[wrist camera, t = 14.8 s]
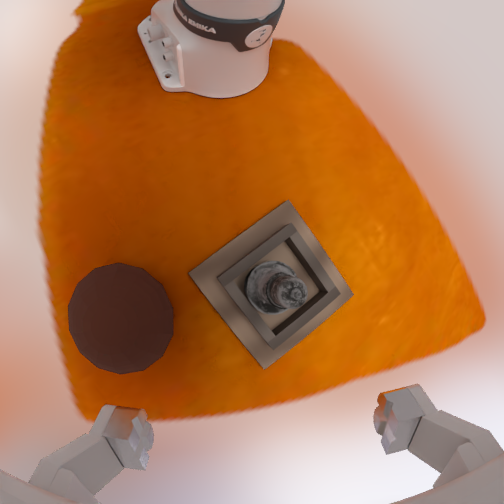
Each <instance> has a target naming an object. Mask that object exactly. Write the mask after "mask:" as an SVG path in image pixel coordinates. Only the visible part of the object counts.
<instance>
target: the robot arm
mask: <svg viewBox="0 0 504 504" xmlns="http://www.w3.org/2000/svg"><path fill="white" fill-rule="evenodd" d="M284 3H285V0H159V1H158V2H157V3H156V4H155V5H154V6H153V7H152V9H151V15H150V16H148V17H147V18H146V19H144V20H143V21H142V22H141V23H140V25H139V26H138V34H139V37H140V39H141V41H142V43H143V46H144V48H145V50H146V52H147V55H148V57H149V59H150V61H151V64H152V66H153V68H154V70H155V73H156V75H157V77H158V79H159V81H160V84H161V86H162V88H163V89H164V90H165V91H169V92H181V91H188V92H192V93H195V94H199V95H202V96H206V97H213V98H228V97H234V96H239V95H242V94H245V93H247V92H249V91H251V90H253V89H254V88H256V87H257V86H258V85H259V84H260V83H261V82H262V81H263V80H264V78H265V77H266V74H267V72H268V67H269V49H270V47H271V45H272V33H273V31H274V29H275V27H276V25H277V23H278V21H279V18H280V15H281V13H282V10H283V7H284ZM167 76H170V78H166V77H167ZM377 402H378V404H379V406H378V407H377V408H376V409H375V411H374V426H375V429H376V432H377V433H378V434H380V435H382V439H381V443H382V446H383V448H384V450H385V453H386V454H391V453H395V452H399V451H402V450H405V449H408V451H409V452H411V453H412V454H414V455H415V456H417V457H418V458H419V459H421V460H422V461H424V462H425V463H427V464H428V465H430V466H431V467H432V468H434V469H435V470H437V471H438V472H440V473H441V474H440V476H439V477H438V479H437V480H436V482H435V483H434V485H433V487H434V488H433V489H431V490H428V491H426V492H423V493H420V494H418V495H415V496H413V497H409V498H406V499H403V500H401V501H397V502H394V503H391V504H504V451H503V449H502V448H501V447H500V445H499V444H498V442H497V441H496V440H495V438H494V437H493V435H492V434H491V433H490V431H489V430H486V429H484V428H481V427H479V426H476V425H474V424H472V423H469V422H467V421H465V420H462V419H460V418H458V417H456V416H453V415H451V414H449V413H446V412H444V411H442V410H440V411H437V409H436V408H435V406H434V405H433V403H432V402H431V400H430V399H429V397H428V396H427V395H426V393H425V392H424V391H423V389H422V387H421V386H420V385H419V384H415V385H411V386H407V387H403V388H399V389H395V390H391V391H387V392H383V393H380V394H379V396H378V399H377ZM146 419H147V414H146V412H145V410H144V409H138V408H130V407H122V406H113V405H104V406H103V407H102V409H101V411H100V413H99V415H98V416H97V418H96V420H95V422H94V424H93V426H92V428H91V430H90V432H89V434H84V435H82V436H80V437H79V438H77V439H76V440H74V441H72V442H70V443H69V444H67V445H66V446H64V447H62V448H60V449H59V450H57V451H55V452H54V453H52V454H50V455H49V456H46V457H45V458H43V459H41V460H40V462H39V464H38V466H37V467H36V469H35V471H34V473H33V475H32V477H31V479H30V480H29V482H28V483H27V482H25V481H23V480H21V479H19V478H17V477H15V476H12V475H11V474H9V473H6V472H4V471H3V470H1V469H0V504H100V502H99V501H98V500H97V499H96V498H95V497H94V495H95V494H96V493H97V492H99V491H100V490H101V489H102V488H103V487H104V486H105V485H106V484H108V483H109V482H110V481H111V480H112V479H113V478H114V477H115V476H116V475H118V474H119V473H120V472H121V471H122V470H123V469H124V468H131V469H138V470H145V469H146V466H147V463H148V459H149V455H148V453H147V451H148V450H149V449H151V448H152V445H153V440H154V434H153V429H152V426H151V424H150V423H148V422H147V421H146ZM123 467H124V468H123Z"/></svg>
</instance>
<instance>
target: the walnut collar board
mask: <svg viewBox="0 0 504 504" xmlns="http://www.w3.org/2000/svg"><path fill="white" fill-rule="evenodd" d="M267 261H280V262H283V263H285V264H287V265H288V266H290V267H291V268H292V269H293V270H294V272H295V273H296V275H297V277H298V278H299V279H301V280H302V281H303V282H304V283H305V285H306V286H307V290H308V296H307V300H306V302H305V303H304V304H303V305H302V306H301V307H299V308H296V309H288V310H287V311H285V312H283V313H280V314H277V315H269V314H264V313H262V312H260V311H258V310H257V309H256V308H255V307H254V306H253V305H252V304H251V302H250V301H249V299H248V298H247V296H246V294H245V290H244V282H245V279H246V276H247V274H248V273H249V272H250V271H251V270H252V269H253V268H254V267H256V266H257V265H260V264H262V263H264V262H267ZM188 274H189V275H190V276H191V278H192V279H193V280H194V282H195V283H196V284H197V286H198V287H199V288H200V290H201V291H202V292H203V294H204V295H205V296H206V298H207V299H208V300H209V301H210V303H211V304H212V305H213V307H214V308H215V309H216V311H217V312H218V313H219V314H220V316H221V317H222V318H223V319H224V321H225V322H226V323H227V325H228V326H229V327H230V328H231V330H232V331H233V332H234V333H235V335H236V336H237V337H238V338H239V340H240V341H241V342H242V343H243V344H244V346H245V347H246V348H247V349H248V351H249V352H250V353H251V354H252V355H253V357H254V358H255V359H256V360H257V361H258V363H259V364H260V365H261V366H262V367H263V369H264V370H265V369H266V368H267V367H269V366H270V365H271V364H273V363H274V362H275V361H276V360H278V359H279V358H280V357H281V356H283V355H284V354H285V353H286V352H288V351H289V350H290V349H291V348H293V347H294V346H295V345H296V344H298V343H299V342H300V341H301V340H302V339H304V338H305V337H306V336H307V335H308V334H310V333H311V332H312V331H313V330H314V329H316V328H317V327H318V326H319V325H320V324H321V323H323V322H324V321H325V320H326V319H327V318H328V317H330V316H331V315H332V314H333V313H334V312H335V311H336V310H337V309H339V308H340V307H341V306H342V305H343V304H344V303H345V302H346V301H347V300H349V299H350V298H351V297H352V296H353V295H354V294H353V293H352V291H351V290H350V288H349V287H348V285H347V284H346V282H345V280H344V279H343V277H342V276H341V274H340V273H339V271H338V270H337V268H336V267H335V265H334V264H333V262H332V261H331V260H330V258H329V257H328V255H327V254H326V252H325V251H324V249H323V248H322V246H321V245H320V243H319V242H318V241H317V239H316V238H315V236H314V235H313V233H312V232H311V230H310V229H309V228H308V226H307V225H306V223H305V222H304V221H303V219H302V218H301V216H300V215H299V214H298V212H297V211H296V209H295V208H294V207H293V205H292V204H291V202H290V201H289V200H287V201H286V202H284V203H283V204H281V205H280V206H279V207H277V208H276V209H274V210H273V211H272V212H270V213H269V214H268V215H266V216H265V217H263V218H262V219H261V220H259V221H258V222H257V223H255V224H254V225H252V226H251V227H250V228H248V229H247V230H246V231H244V232H243V233H242V234H240V235H239V236H237V237H236V238H235V239H233V240H232V241H231V242H229V243H228V244H227V245H225V246H224V247H223V248H221V249H220V250H219V251H217V252H216V253H214V254H213V255H212V256H210V257H209V258H208V259H206V260H205V261H204V262H202V263H201V264H200V265H198V266H197V267H196V268H194V269H193V270H192V271H190V272H189V273H188Z"/></svg>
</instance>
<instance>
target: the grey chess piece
mask: <svg viewBox="0 0 504 504" xmlns="http://www.w3.org/2000/svg"><path fill="white" fill-rule="evenodd" d="M244 290H245V294H246V296H247V298H248V299H249V301H250V302H251V304H252V305H253V306H254V307H255V308H256V309H257V310H258V311H260V312H262V313H264V314H269V315H277V314H280V313H283V312H285V311H287V310H288V309H296V308H299V307H301V306H302V305H303V304H304V303H305V302H306V300H307V296H308V290H307V286H306V285H305V283H304V282H303V281H302V280H301V279H299V278H298V277H297V275H296V273H295V272H294V270H293V269H292V268H291V267H290V266H288V265H287V264H285V263H283V262H280V261H267V262H264V263H262V264H260V265H257V266H256V267H254V268H253V269H252V270H251V271H250V272H249V273H248V274H247V276H246V279H245V282H244Z"/></svg>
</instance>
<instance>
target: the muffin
mask: <svg viewBox="0 0 504 504" xmlns="http://www.w3.org/2000/svg"><path fill="white" fill-rule="evenodd" d="M68 316H69V331H70V333H71V335H72V337H73V339H74V341H75V344H76V346H77V348H78V350H79V352H80V353H81V354H82V355H84V356H85V357H86V358H87V359H88V360H89V361H91V362H92V363H93V364H94V365H95V366H96V367H98V368H100V369H104V370H107V371H110V372H114V373H117V374H126V373H132V372H138V371H143V370H145V369H146V368H148V367H149V366H150V365H152V364H153V363H154V362H156V361H157V360H158V359H159V358H161V357H162V356H163V354H164V352H165V350H166V348H167V346H168V344H169V342H170V340H171V338H172V336H173V307H172V305H171V303H170V301H169V299H168V296H167V294H166V292H165V290H164V288H163V285H162V284H160V283H159V282H158V281H157V280H156V279H154V278H153V277H152V276H151V275H150V274H148V273H147V272H146V271H145V270H144V269H142V268H138V267H134V266H130V265H126V264H122V263H115V264H111V265H106V266H102V267H98V268H95V269H94V270H93V271H91V272H90V273H89V274H88V275H87V276H86V277H84V278H83V279H82V280H81V281H80V282H79V283H78V284H77V286H76V288H75V291H74V293H73V295H72V298H71V300H70V303H69V305H68Z"/></svg>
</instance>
